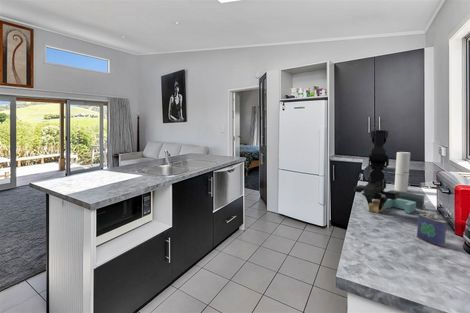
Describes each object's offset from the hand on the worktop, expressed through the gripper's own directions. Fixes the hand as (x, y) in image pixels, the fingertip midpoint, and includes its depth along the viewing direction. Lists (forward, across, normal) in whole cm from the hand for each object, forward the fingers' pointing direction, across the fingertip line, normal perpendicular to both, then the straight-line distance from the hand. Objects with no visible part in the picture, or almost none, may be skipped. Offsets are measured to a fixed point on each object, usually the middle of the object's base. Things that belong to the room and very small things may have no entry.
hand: (375, 208), depth 119 cm
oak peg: (+1, 0, +2) cm, 3 cm away
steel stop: (+1, +6, +22) cm, 22 cm away
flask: (+2, +27, -18) cm, 32 cm away
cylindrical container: (+1, -9, +54) cm, 55 cm away
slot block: (+1, +6, +12) cm, 14 cm away
